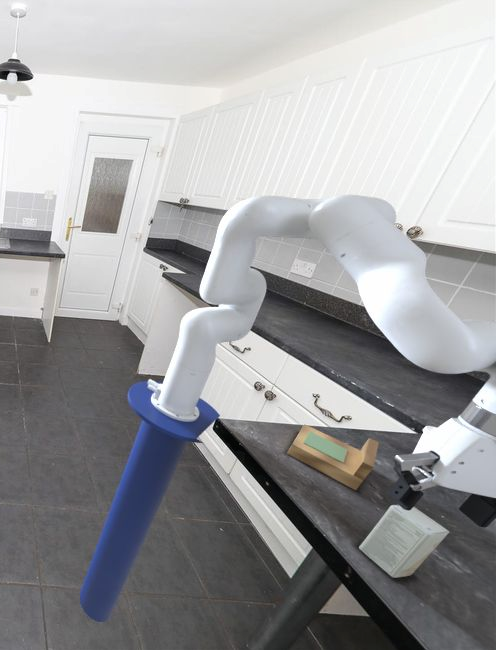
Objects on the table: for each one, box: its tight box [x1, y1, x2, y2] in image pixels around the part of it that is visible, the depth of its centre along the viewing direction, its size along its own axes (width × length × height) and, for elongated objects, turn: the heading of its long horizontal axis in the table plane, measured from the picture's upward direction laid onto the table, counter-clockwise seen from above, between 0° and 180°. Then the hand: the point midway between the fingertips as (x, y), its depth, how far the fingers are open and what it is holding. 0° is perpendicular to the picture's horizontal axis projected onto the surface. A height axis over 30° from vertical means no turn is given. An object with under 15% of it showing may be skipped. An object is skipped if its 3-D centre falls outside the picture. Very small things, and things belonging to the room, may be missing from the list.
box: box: [358, 504, 450, 579], centre depth 56 cm, size 5×4×11 cm
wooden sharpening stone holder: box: [286, 423, 380, 491], centre depth 79 cm, size 12×13×7 cm
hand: (433, 510), depth 53 cm, fingers open, 9 cm apart
